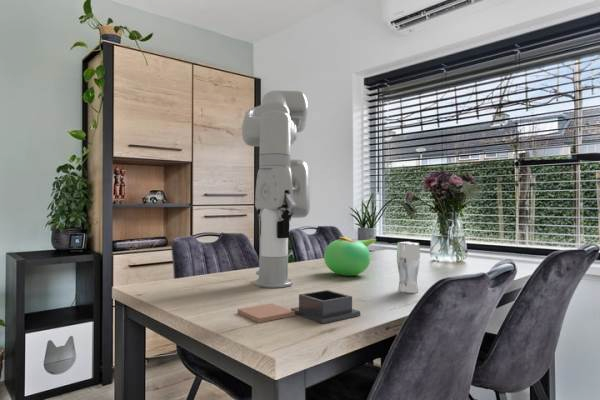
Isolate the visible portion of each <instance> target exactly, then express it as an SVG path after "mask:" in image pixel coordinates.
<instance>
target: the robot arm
mask: <svg viewBox="0 0 600 400" xmlns="http://www.w3.org/2000/svg"><path fill="white" fill-rule="evenodd" d="M308 109H309V104H308V98H307V96H306V94H305V93H303V92H302V91H298V90H271V91H268V92H266V93H265V94H264V95H263V97H262V99H261V104H260V105H257V106H254V107H252V108H250V109H248V110H247V111H246V112H245V115H244V116H243V121H242V125H241V138H242V140H243V142H244V143H245V145H247V146H249V147H259V155H258V156H259V159H258V160H259V169H258V171H257V177H256V181H255V182H256V184H255V193H254V194H255V198H254V206H255V209H256V211H257V214H258V221H259V222H258V223H259V226H258V227H259V228H258V229H259V253H258V254H259V259H258V260H259V261H258V262H259V269H258V270H256V272H255V274H256V275H258V279H257V278H256V279H255V280H253V281H254V283H253V284H254V285H255V286H257V287H260V288H269V289H271V288H272V289H273V288H274V289H275V288H286V287H290V286H292V285H293V280H292V279H290V278H289V254H288V255H287V256H286V257H284V258H265V257H262V255H261V213H262V211H263V209H265V208H266V209H269V210H277V214H278V218H279V221H277V238H288V239H289V238H290V222H291V220H292V219H297V218H298V219H300V218H306V217H308V216H309V214H310V209H311V208H310V207H311V206H310V205H311V198H310V197H311V196H310V171H309V166H308V164H307V163H306V161H304V160H303V159H291V146H292V145H294V143H295V141H296V140H297V138H298V137H297V136H298V133H301V132H303V131H304V130H305V127H306V123H307V117H308V112H309V110H308ZM280 207H284V208H280ZM282 212H284V213H283V214H282Z"/></svg>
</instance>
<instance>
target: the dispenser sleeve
mask: <svg viewBox="0 0 600 400" xmlns="http://www.w3.org/2000/svg"><path fill="white" fill-rule="evenodd" d="M290 310H292V311H295V315H296V314H297V315H296V316H299V315H300V316H299V317H303V318H304V319H307V318H308V319H307V320H310V319H311V320H310V321H313V320H314V321H313V322H316V321H317V322H316V323H318V322H319V324H321V323H324V324H327V323H328V322H329V323H333V322H337V320H338V321H343V320H347V319H350V318H351V319H352V318H354V317H360V316H361V310H357V309H354V308H353V296H351V295H348V294H344V293H340V292H336V291H332V290H328V289H325V290H319V291H312V292H306V293H299V294H298V306H297V307H292V308H290ZM346 318H347V319H346ZM332 321H333V322H332Z"/></svg>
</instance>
